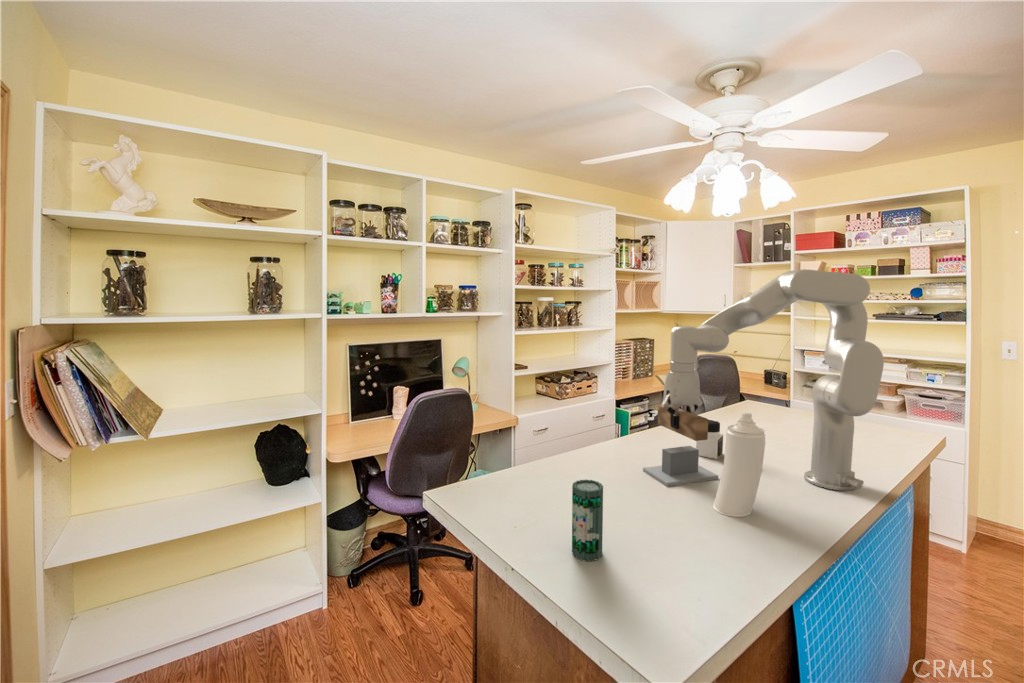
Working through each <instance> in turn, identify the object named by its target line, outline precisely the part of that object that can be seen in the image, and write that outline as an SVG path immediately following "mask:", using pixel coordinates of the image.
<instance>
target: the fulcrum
mask: <svg viewBox="0 0 1024 683" xmlns="http://www.w3.org/2000/svg"><path fill="white" fill-rule="evenodd" d="M661 451H662V452H661V456H662V457H661V465H657V466H655V465H654V466H648V467H643V468H642V472H644V473H645V474H646V475H649V476H650V477H651V478H653V479H654V480H656V481H658V482H659V483H661V484H662V485H664V486H665V487H671V486H678V485H685V484H691V483H697V482H698V483H700V482H704V481H712V479H713V480H718V479H719V475H718V474H716V473H714V472H713V471H711V470H709V469H707V468H704V467H703V466H701V465H699V457H700V456H699V450H698V449H696V447H694V446H691V445H686V446H685V445H684V446H677V447H675V446H674V447H668V448H662V450H661Z"/></svg>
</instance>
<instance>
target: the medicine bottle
mask: <svg viewBox="0 0 1024 683" xmlns="http://www.w3.org/2000/svg"><path fill="white" fill-rule="evenodd" d="M707 419H708V440H700V441H695V448H696V449H698V450H699V457H702V456H703V457H704V458H709V459H713V458H714V460H718V459H719V458H720V457H721V456H722V454H723V453H724V452H723V450H724V449H723V448H724V433H721V432H720V431H721V429H720V428H721V423H720V422H719V421H717V420H715V419H710V418H707ZM703 457H702V458H703Z"/></svg>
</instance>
